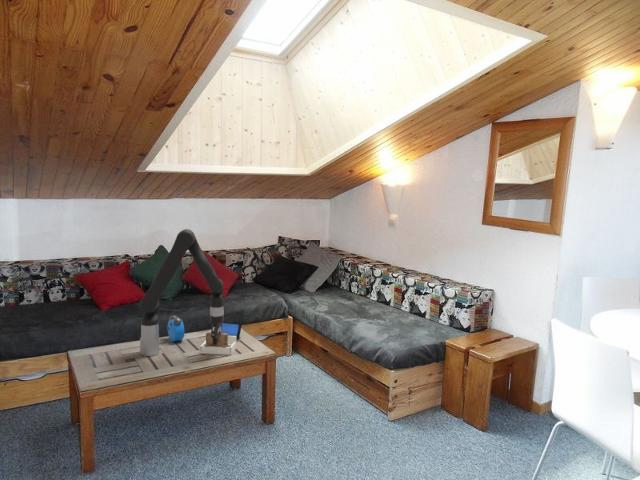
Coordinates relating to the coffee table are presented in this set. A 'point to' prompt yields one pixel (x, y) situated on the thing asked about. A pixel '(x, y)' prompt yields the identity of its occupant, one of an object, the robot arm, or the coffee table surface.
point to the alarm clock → (175, 329)
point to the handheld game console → (232, 329)
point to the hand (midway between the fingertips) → (216, 341)
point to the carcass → (220, 350)
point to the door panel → (221, 339)
